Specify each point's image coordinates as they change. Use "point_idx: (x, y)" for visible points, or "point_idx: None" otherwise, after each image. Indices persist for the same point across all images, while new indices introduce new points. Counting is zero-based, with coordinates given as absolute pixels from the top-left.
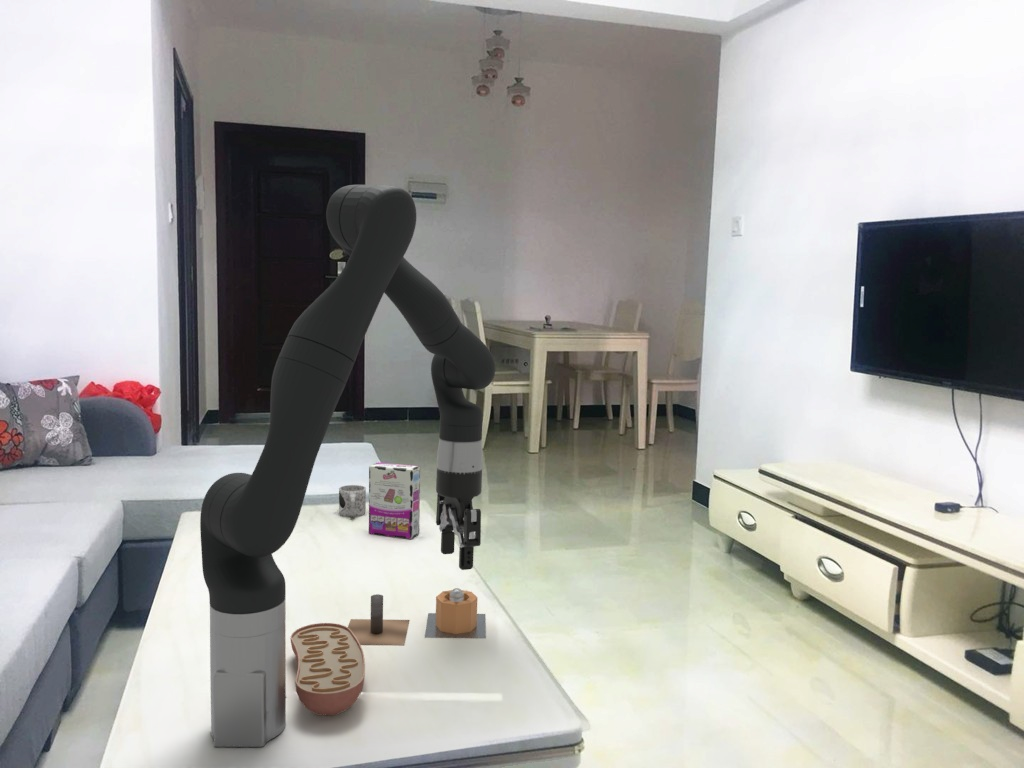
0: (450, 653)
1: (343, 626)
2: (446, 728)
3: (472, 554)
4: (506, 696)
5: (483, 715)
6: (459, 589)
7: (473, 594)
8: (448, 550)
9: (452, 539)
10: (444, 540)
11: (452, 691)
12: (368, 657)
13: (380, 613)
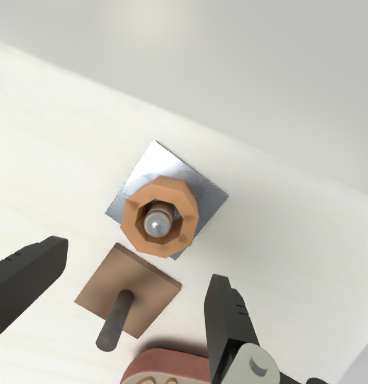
0: (219, 245)
1: (143, 373)
2: (346, 332)
3: (252, 329)
4: (348, 256)
5: (357, 296)
6: (159, 225)
7: (166, 189)
8: (58, 259)
9: (29, 272)
10: (27, 301)
11: (296, 293)
12: (171, 318)
13: (124, 319)
